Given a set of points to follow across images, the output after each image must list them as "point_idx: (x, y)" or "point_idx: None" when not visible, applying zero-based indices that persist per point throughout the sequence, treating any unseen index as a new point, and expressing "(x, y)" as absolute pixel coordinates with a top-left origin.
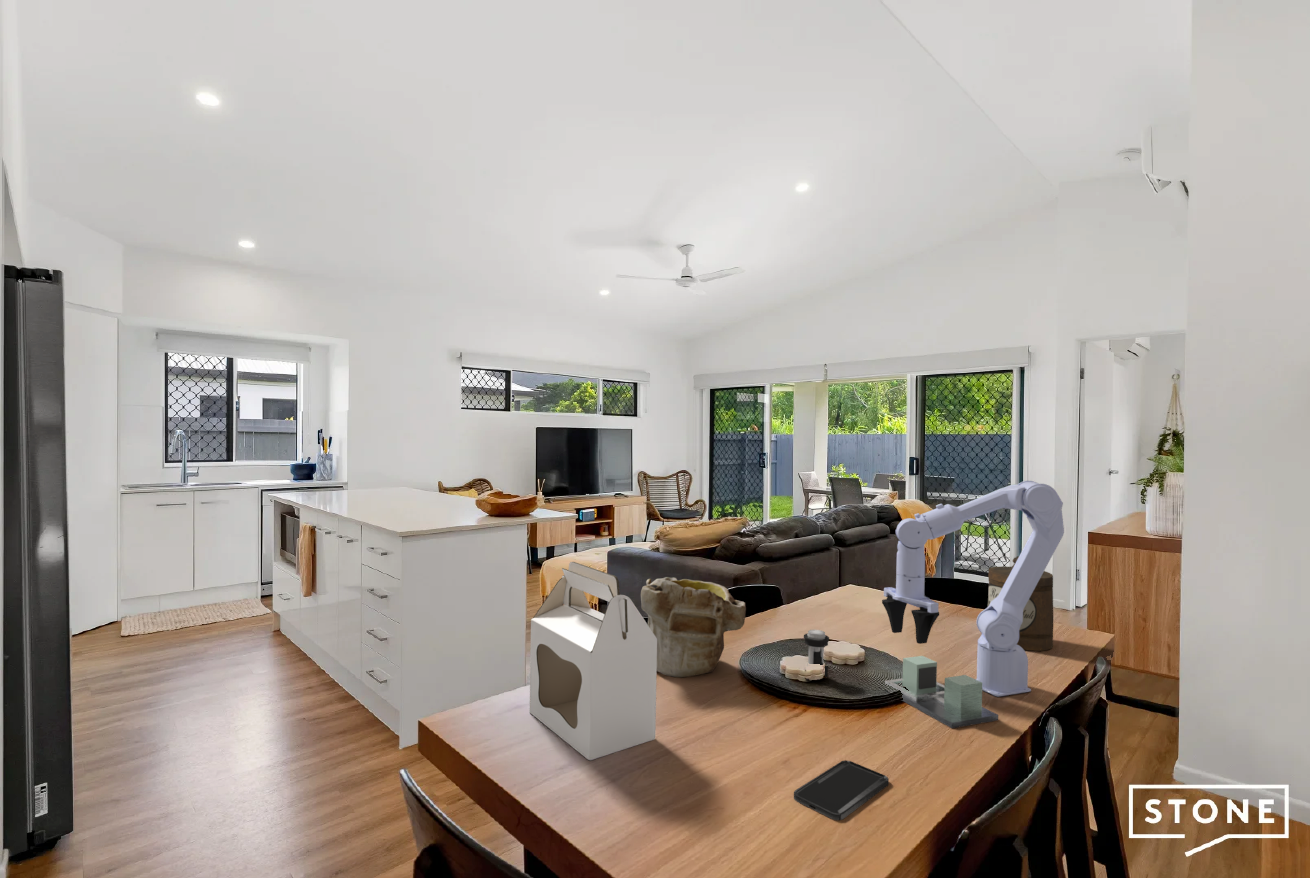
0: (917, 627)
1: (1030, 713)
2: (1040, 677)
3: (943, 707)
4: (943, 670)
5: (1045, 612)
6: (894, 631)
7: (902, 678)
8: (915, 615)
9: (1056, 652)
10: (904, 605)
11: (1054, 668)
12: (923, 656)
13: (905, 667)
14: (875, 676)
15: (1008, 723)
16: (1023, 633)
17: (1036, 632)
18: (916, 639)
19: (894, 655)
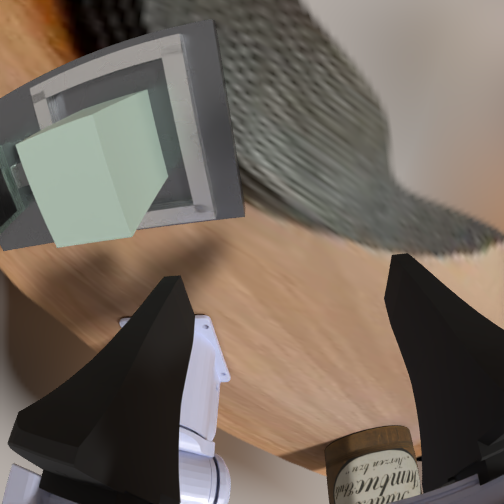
0: (121, 348)
1: (56, 316)
2: (227, 415)
3: (10, 149)
4: (310, 315)
5: (329, 500)
6: (395, 263)
7: (194, 119)
8: (59, 423)
9: (314, 453)
10: (426, 453)
11: (260, 436)
12: (121, 235)
13: (94, 110)
14: (326, 74)
15: (4, 253)
16: (342, 462)
17: (330, 470)
18: (171, 286)
19: (451, 261)
